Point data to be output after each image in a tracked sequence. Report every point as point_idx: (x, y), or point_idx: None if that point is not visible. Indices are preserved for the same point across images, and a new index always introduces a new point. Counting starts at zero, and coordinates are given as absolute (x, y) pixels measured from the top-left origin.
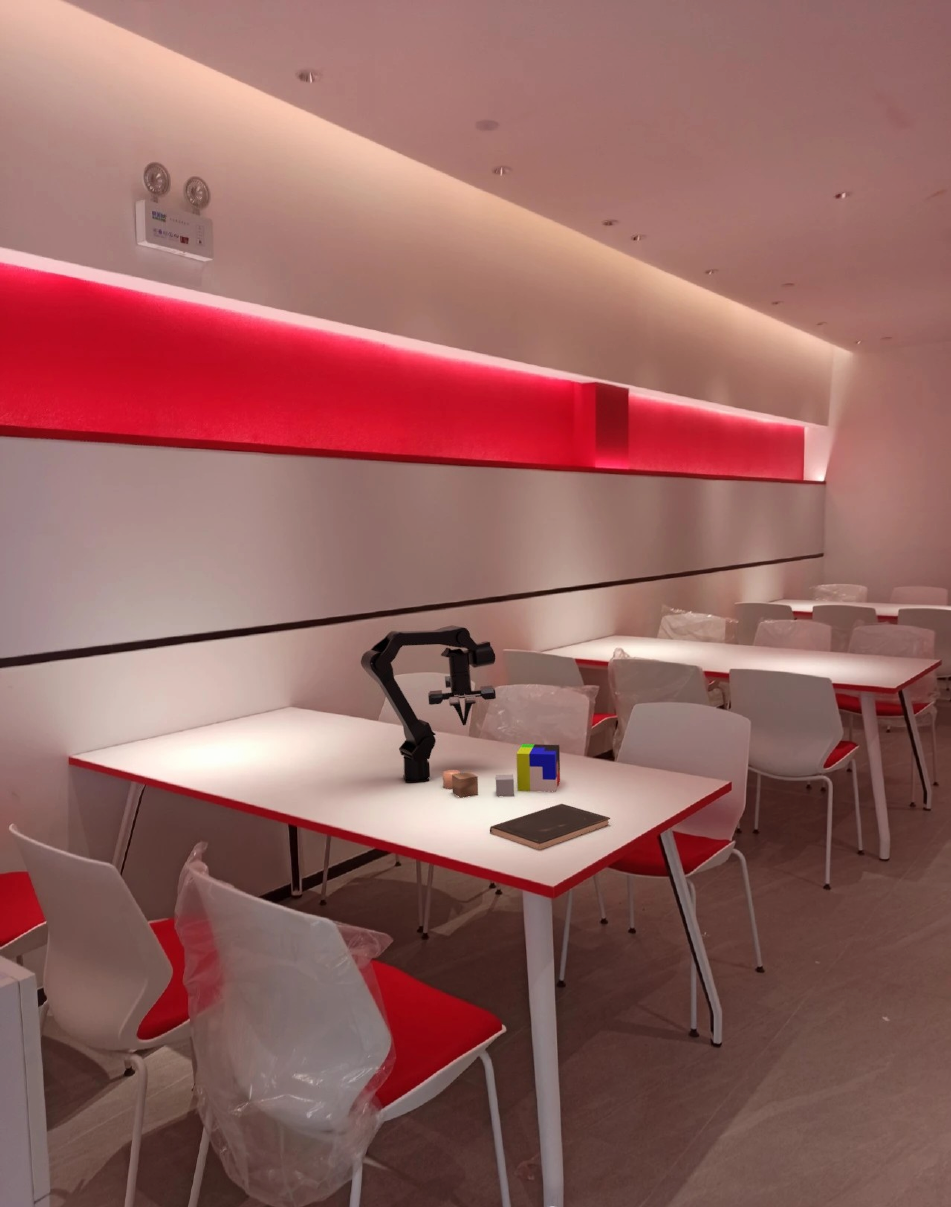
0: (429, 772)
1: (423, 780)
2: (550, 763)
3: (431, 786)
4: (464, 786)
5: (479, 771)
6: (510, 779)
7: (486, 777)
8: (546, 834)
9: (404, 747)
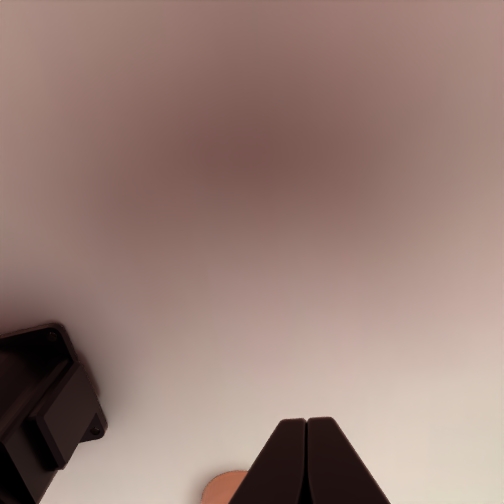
0: (89, 423)
1: (80, 440)
2: None
3: (142, 494)
4: None
5: (381, 245)
6: None
7: (422, 367)
8: None
9: None
